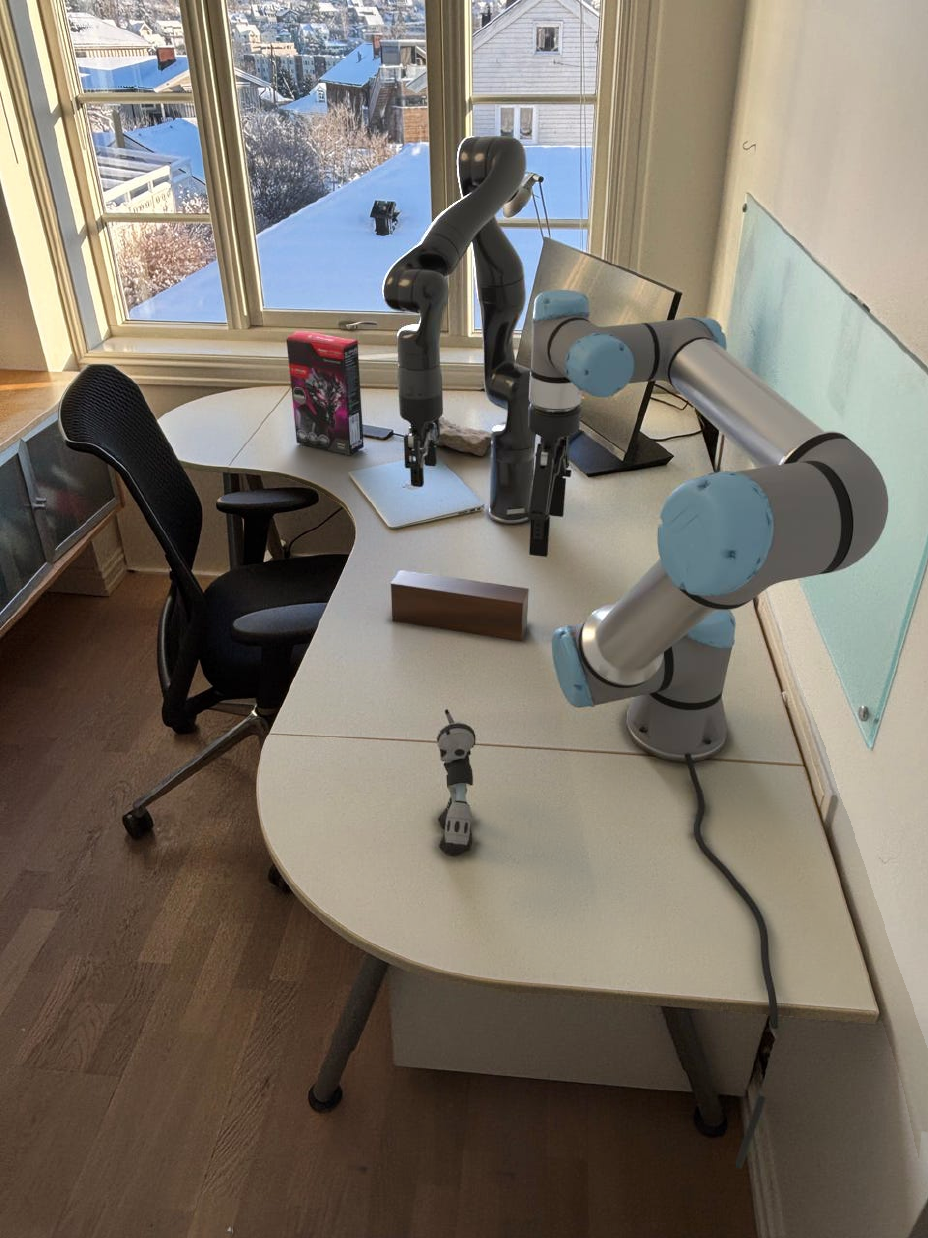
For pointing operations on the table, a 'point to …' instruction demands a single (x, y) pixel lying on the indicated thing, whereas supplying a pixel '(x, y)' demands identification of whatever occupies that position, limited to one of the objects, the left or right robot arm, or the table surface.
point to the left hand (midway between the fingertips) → (424, 475)
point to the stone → (463, 438)
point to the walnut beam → (459, 604)
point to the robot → (456, 785)
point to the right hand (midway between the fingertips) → (546, 534)
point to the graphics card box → (326, 391)
